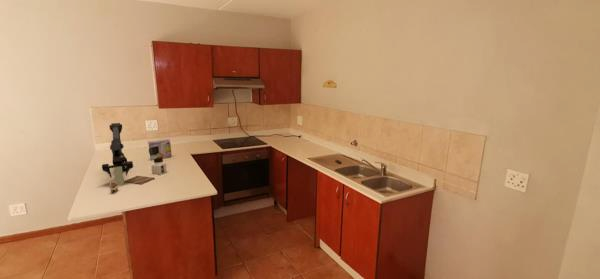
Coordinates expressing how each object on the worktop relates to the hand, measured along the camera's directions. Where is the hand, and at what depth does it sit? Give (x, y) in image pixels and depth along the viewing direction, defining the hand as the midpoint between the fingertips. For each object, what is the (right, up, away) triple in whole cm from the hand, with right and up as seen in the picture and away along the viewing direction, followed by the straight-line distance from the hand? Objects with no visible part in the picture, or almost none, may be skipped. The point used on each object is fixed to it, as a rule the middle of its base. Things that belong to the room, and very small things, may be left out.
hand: (118, 176), depth 207 cm
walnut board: (+9, -4, +11) cm, 15 cm away
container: (+15, -1, +29) cm, 33 cm away
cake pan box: (-3, +8, +69) cm, 70 cm away
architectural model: (+3, -10, -9) cm, 14 cm away
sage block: (-1, -6, +3) cm, 7 cm away
